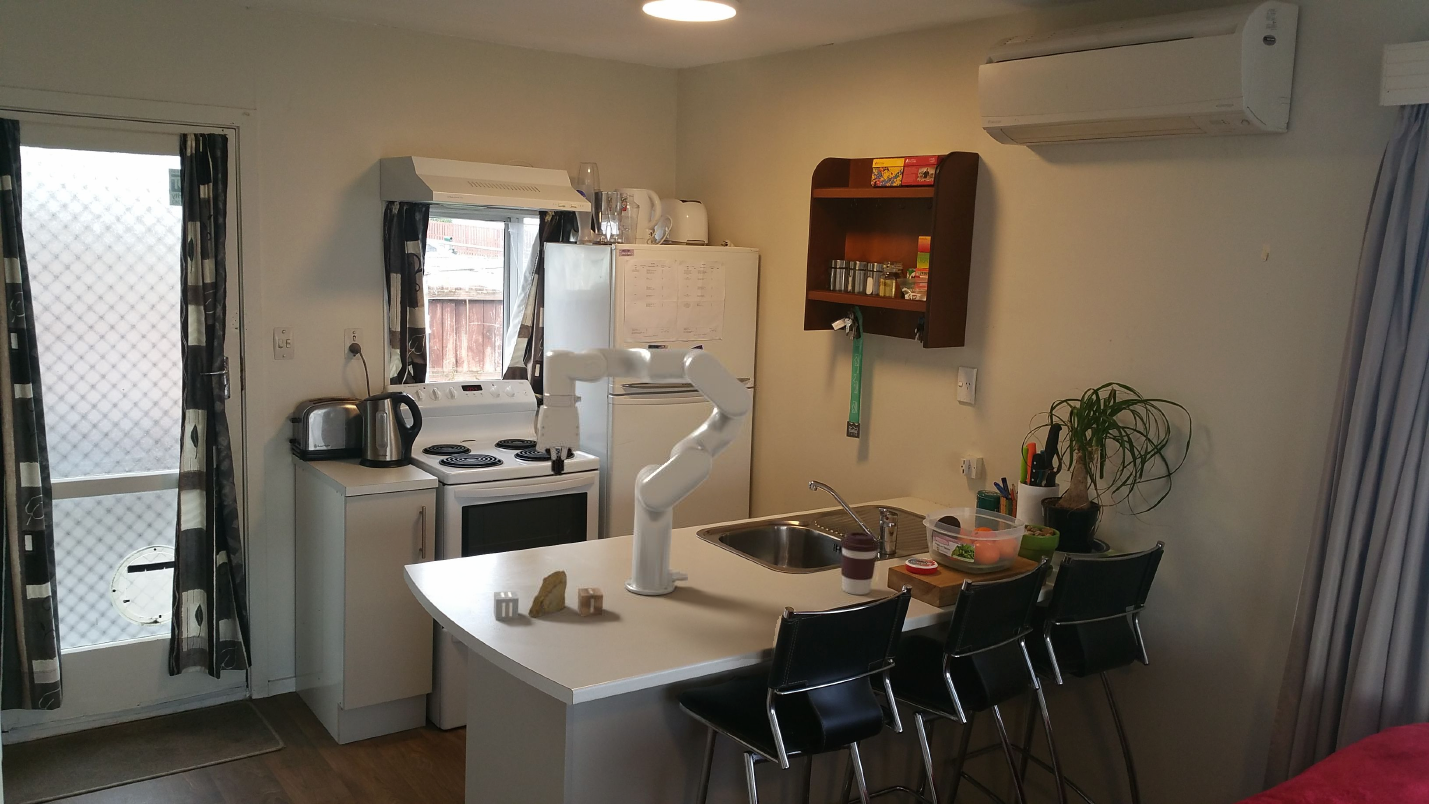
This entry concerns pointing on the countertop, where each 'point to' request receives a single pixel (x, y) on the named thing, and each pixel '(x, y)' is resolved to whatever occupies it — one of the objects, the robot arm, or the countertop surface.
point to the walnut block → (590, 601)
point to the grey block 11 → (506, 605)
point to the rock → (550, 595)
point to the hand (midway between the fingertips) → (557, 474)
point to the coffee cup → (858, 562)
